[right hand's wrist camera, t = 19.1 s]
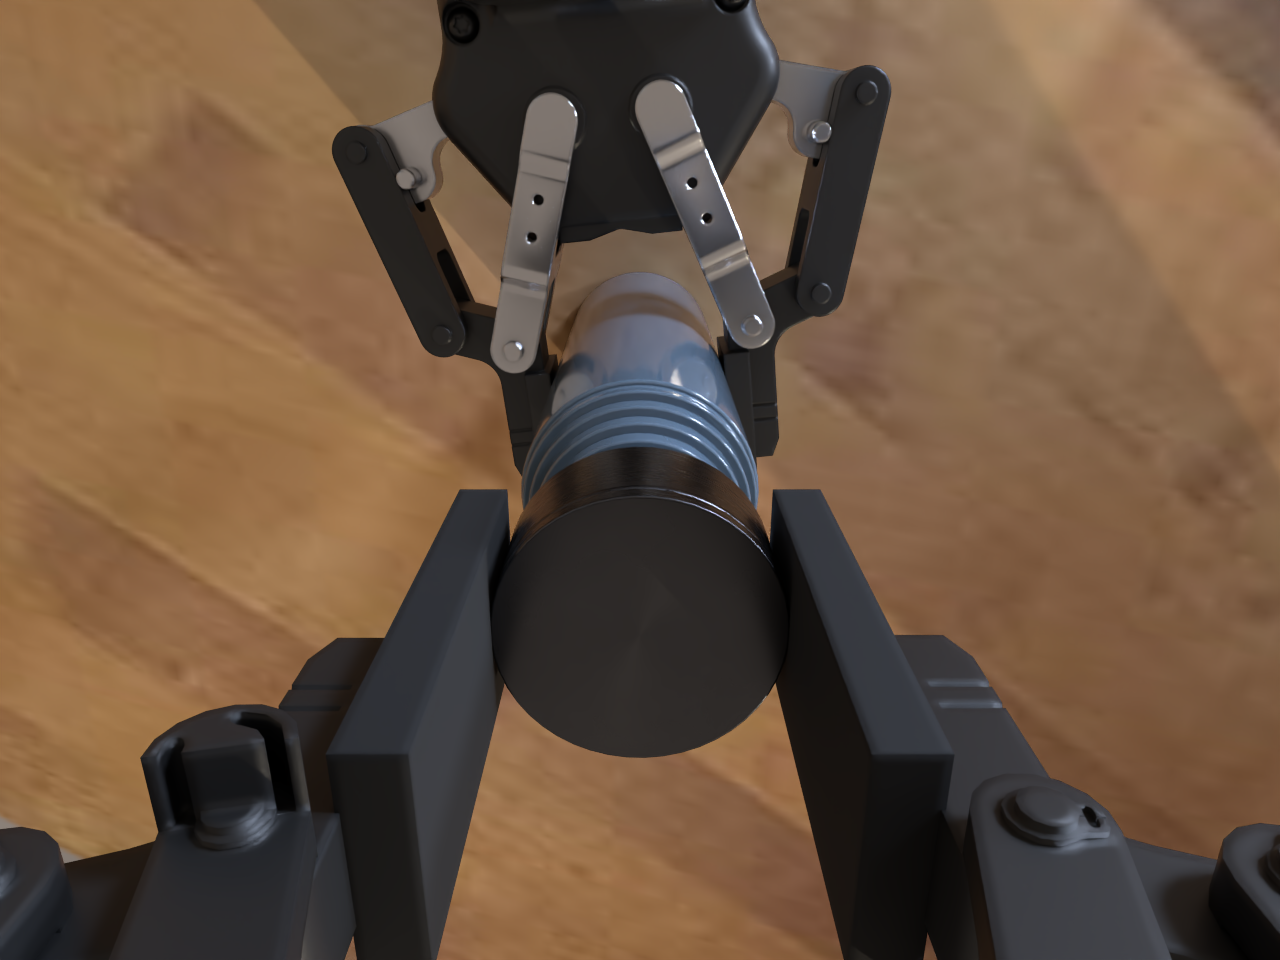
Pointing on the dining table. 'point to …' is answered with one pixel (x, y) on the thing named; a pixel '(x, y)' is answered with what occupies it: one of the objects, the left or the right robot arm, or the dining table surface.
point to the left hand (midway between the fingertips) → (648, 476)
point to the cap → (639, 605)
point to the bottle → (639, 386)
